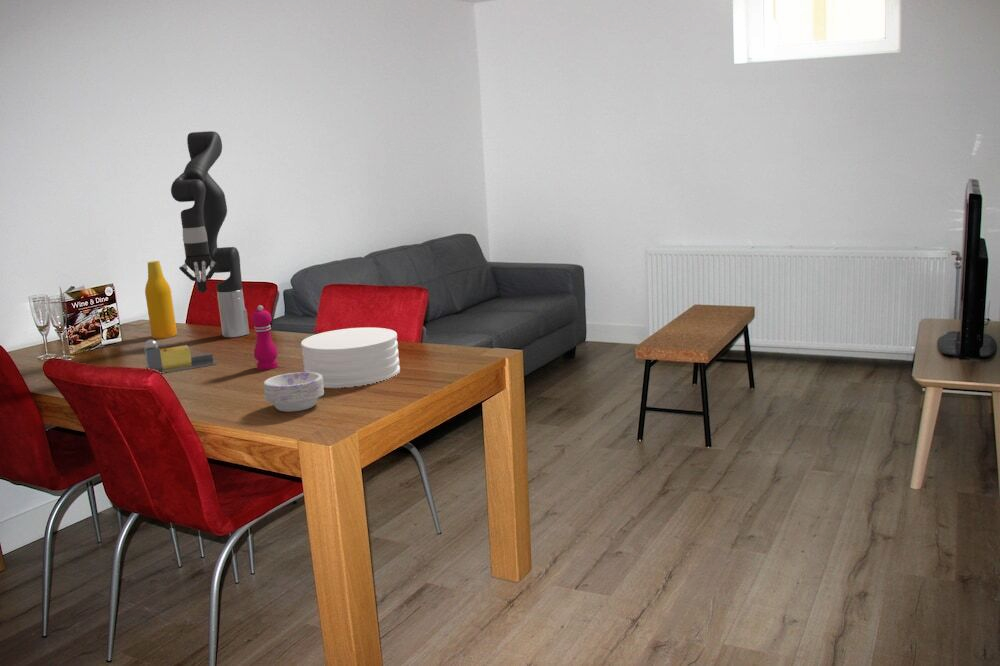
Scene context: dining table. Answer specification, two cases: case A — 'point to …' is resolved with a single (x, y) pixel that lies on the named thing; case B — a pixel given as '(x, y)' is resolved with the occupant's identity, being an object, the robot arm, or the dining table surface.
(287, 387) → the paper bowls
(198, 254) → the robot arm
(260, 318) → the pepper mill
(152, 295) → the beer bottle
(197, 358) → the grey fixture stand
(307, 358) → the plate stack
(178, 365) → the yellow block
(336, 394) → the dining table surface
